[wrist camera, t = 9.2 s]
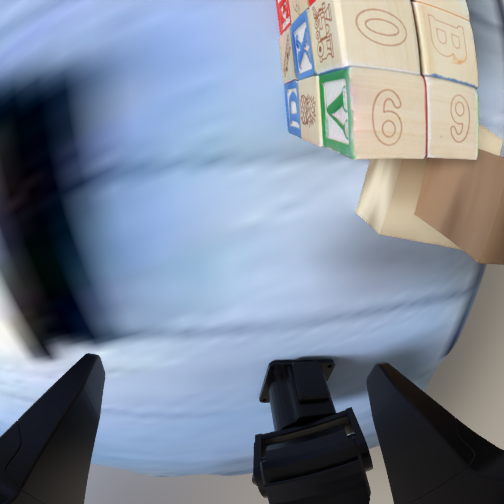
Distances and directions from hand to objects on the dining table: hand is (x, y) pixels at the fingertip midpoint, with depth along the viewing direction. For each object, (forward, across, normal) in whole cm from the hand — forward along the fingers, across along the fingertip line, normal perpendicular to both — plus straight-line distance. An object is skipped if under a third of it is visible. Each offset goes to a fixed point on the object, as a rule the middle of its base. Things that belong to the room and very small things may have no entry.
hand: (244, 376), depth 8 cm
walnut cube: (+8, -13, -6) cm, 16 cm away
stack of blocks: (+12, -3, -17) cm, 21 cm away
